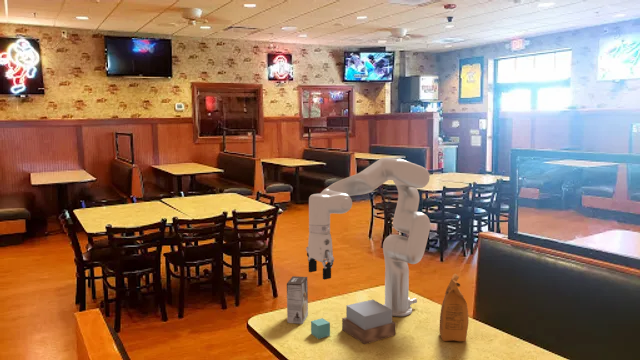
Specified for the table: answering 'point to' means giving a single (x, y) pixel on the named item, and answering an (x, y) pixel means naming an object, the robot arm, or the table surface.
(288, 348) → the table surface
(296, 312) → the coffee box
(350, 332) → the tower base
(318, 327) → the teal block
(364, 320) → the tower top
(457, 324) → the coffee package
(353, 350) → the table surface
